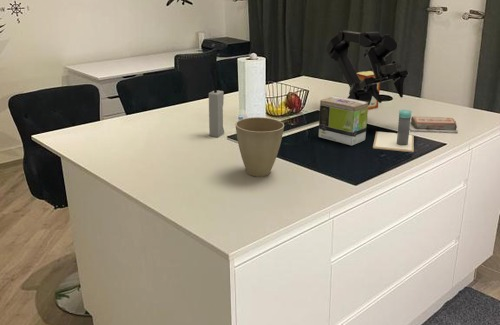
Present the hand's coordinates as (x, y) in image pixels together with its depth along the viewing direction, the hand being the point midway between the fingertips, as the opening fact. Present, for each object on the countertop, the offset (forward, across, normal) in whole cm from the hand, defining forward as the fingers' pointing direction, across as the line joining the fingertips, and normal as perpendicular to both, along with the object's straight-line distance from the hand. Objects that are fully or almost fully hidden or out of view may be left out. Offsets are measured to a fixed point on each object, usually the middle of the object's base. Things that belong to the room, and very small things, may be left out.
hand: (391, 100), depth 201 cm
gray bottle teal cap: (+18, -5, -6) cm, 19 cm away
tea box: (+9, -23, +4) cm, 25 cm away
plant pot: (+16, -63, -17) cm, 67 cm away
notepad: (+16, -6, -2) cm, 17 cm away
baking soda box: (-7, +8, +37) cm, 38 cm away
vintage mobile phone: (-7, -66, +16) cm, 68 cm away
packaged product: (+14, +17, +8) cm, 24 cm away
